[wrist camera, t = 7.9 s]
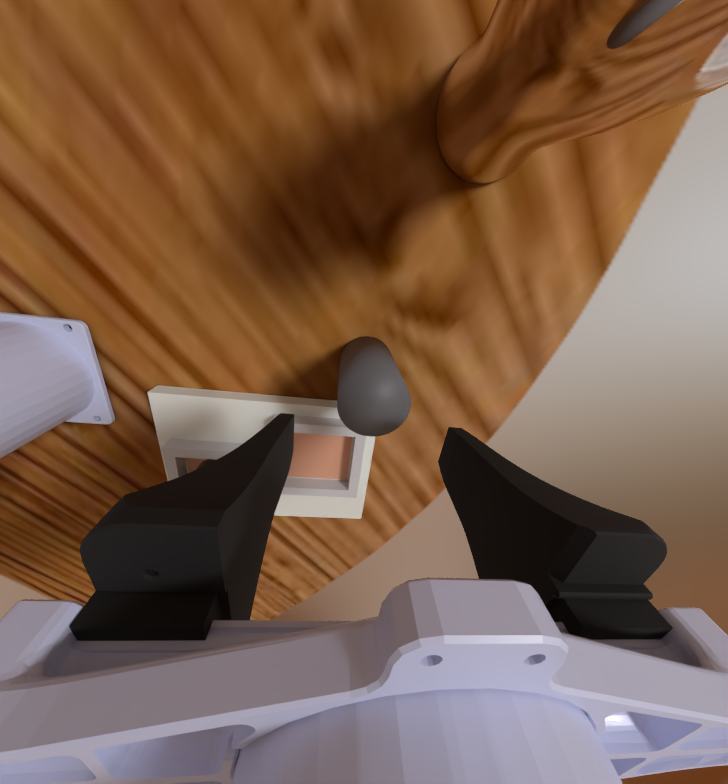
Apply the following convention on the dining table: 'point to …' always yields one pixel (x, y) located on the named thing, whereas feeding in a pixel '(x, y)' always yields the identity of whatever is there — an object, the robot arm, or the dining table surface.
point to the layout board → (246, 418)
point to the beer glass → (574, 75)
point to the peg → (371, 389)
